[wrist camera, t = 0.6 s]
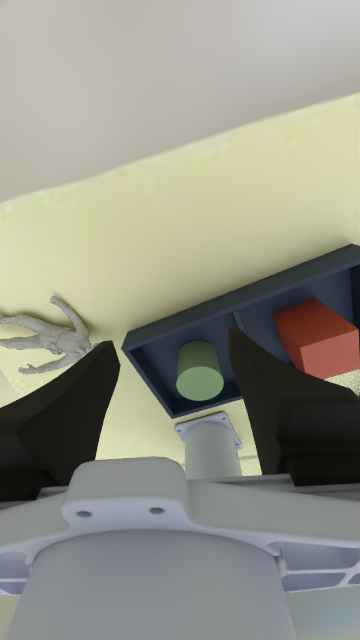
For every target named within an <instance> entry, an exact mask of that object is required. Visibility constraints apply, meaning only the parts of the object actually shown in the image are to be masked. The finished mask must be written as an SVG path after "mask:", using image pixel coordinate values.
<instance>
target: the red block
mask: <svg viewBox="0 0 360 640" xmlns="http://www.w3.org/2000/svg"><path fill="white" fill-rule="evenodd" d="M273 317H274V321H275V325H276V329H277V332H278V336H279V340H280V344H281V346H282V347H283V349H284V350H285V351H286V353H287V354H288V356H289V357H290V359H291V360H292V362H293V363H294V365H295V366H296V367H297V369H299V370H301V371H303V372H305V373H308V374H310V375H312V376H315V377H317V378H320V379H326V378H329V377H333V376H336V375H340V374H343V373H347V372H350V371H354V370H357V369H360V352H359V330H358V328H356V327H355V326H353V325H352V324H351V323H349V322H348V321H347V320H345V319H344V318H342V317H341V316H340V315H338V314H337V313H336V312H334V311H333V310H332V309H330V308H329V307H327V306H326V305H325V304H323V303H322V302H321V301H319V300H318V299H316V298H314V299H312V300H309V301H306V302H303V303H301V304H298V305H295V306H292V307H289V308H287V309H284V310H281V311H278V312H276V313H273Z"/></svg>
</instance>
